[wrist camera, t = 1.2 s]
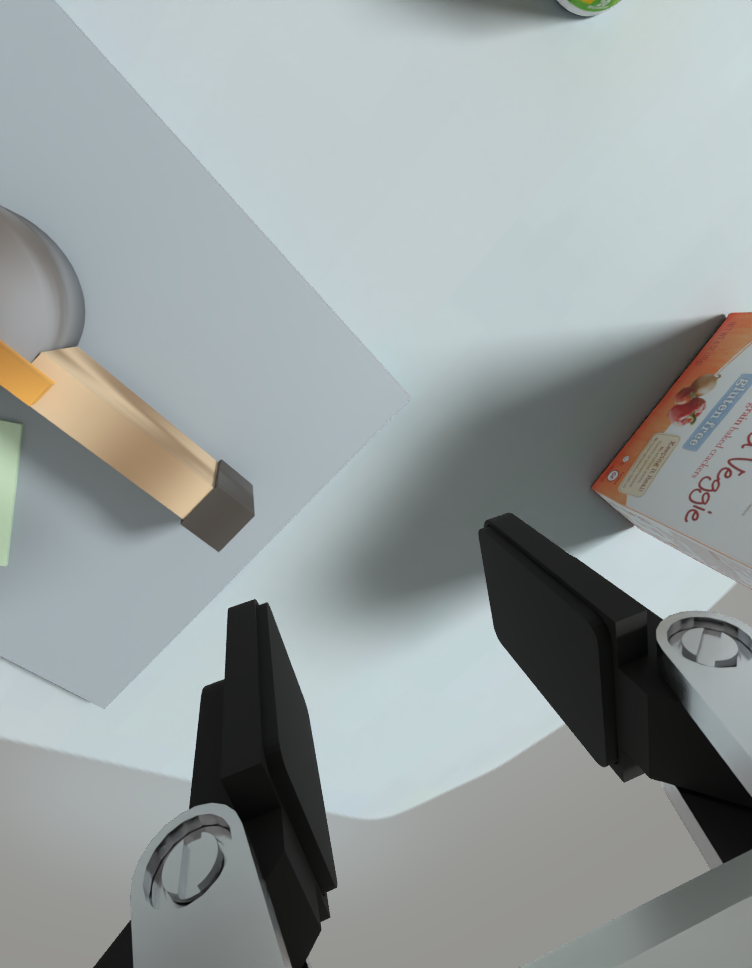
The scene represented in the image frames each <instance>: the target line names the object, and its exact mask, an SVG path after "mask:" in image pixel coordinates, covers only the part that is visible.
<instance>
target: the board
mask: <svg viewBox="0 0 752 968" xmlns="http://www.w3.org/2000/svg"><path fill="white" fill-rule="evenodd" d="M0 205H1V206H3V207H5V208H7V209H9V210H11V211H13V212H15V213H17V214H19V215H21V216H23V217H24V218H26V219H27V220H29V221H30V222H32V223H33V224H35V225H36V226H37V227H39V228H40V229H41V230H42V231H44V232H45V233H46V234H47V235H48V236H49V237H50V238H51V239H52V240H53V241H54V242H55V243H56V244H57V245H58V246H59V248H60V249H61V250H62V251H63V253H64V254H65V255H66V257H67V258H68V260H69V262H70V263H71V265H72V266H73V268H74V270H75V273H76V275H77V277H78V279H79V282H80V285H81V288H82V292H83V296H84V301H85V324H84V329H83V333H82V336H81V339H80V341H79V344H78V347H79V348H80V349H81V350H83V351H84V352H85V353H86V354H87V355H89V356H90V357H91V358H92V359H94V360H95V361H96V362H97V363H98V364H100V365H101V366H102V367H103V368H104V369H106V370H107V371H108V372H109V373H111V374H112V375H113V376H114V377H115V378H117V379H118V380H119V381H120V382H121V383H123V384H124V385H125V386H126V387H128V388H129V389H130V390H131V391H132V392H134V393H135V394H136V395H137V396H138V397H140V398H141V399H142V400H143V401H144V402H146V403H147V404H148V405H149V406H151V407H152V408H153V409H154V410H155V411H157V412H158V413H159V414H160V415H161V416H163V417H164V418H165V419H166V420H168V421H169V422H170V423H171V424H172V425H174V426H175V427H176V428H177V429H178V430H180V431H181V432H182V433H183V434H185V435H186V436H187V437H188V438H189V439H191V440H192V441H193V442H194V443H195V444H197V445H198V446H199V447H200V448H202V449H203V450H204V451H205V452H206V453H208V454H209V455H210V456H211V457H212V458H214V459H215V460H216V461H217V462H219V461H220V460H221V459H222V460H223V461H224V462H226V463H227V464H228V465H229V466H230V467H232V468H233V469H234V470H235V471H237V472H238V473H239V474H240V475H241V476H243V477H244V478H245V479H246V480H247V481H249V482H250V483H251V484H252V485H253V496H254V511H255V516H254V517H253V518H252V519H251V520H250V521H249V522H248V523H247V524H246V525H245V526H244V527H243V529H242V530H241V531H240V532H239V533H238V534H237V535H236V536H235V537H234V538H233V539H232V540H231V541H230V542H229V543H228V544H227V545H226V546H225V547H224V548H223V549H222V550H221V551H220V552H217V551H216V550H215V549H213V548H212V547H211V546H209V545H208V544H207V543H205V542H204V541H202V540H201V539H200V538H198V537H197V536H196V535H194V534H193V533H191V532H190V531H189V530H187V529H186V528H185V527H183V526H182V525H181V524H180V523H181V519H182V518H181V517H179V516H178V515H177V514H175V513H174V512H173V511H171V510H170V509H168V508H167V507H166V506H164V505H163V504H162V503H160V502H159V501H158V500H156V499H155V498H154V497H152V496H151V495H149V494H148V493H147V492H145V491H144V490H143V489H141V488H140V487H139V486H137V485H136V484H135V483H133V482H132V481H131V480H129V479H128V478H126V477H125V476H124V475H122V474H121V473H120V472H118V471H117V470H116V469H114V468H113V467H112V466H110V465H109V464H108V463H106V462H105V461H103V460H102V459H101V458H99V457H98V456H97V455H95V454H94V453H93V452H91V451H90V450H89V449H87V448H86V447H84V446H83V445H82V444H80V443H79V442H78V441H76V440H75V439H74V438H72V437H71V436H70V435H68V434H67V433H66V432H64V431H63V430H61V429H60V428H59V427H57V426H56V425H55V424H53V423H52V422H51V421H49V420H48V419H47V418H45V417H44V416H42V415H41V414H40V413H38V412H37V411H36V410H34V409H33V408H32V407H30V406H28V405H27V404H26V403H24V402H23V401H21V400H20V399H19V398H17V397H16V396H15V395H13V394H12V393H11V392H9V391H8V390H7V389H4V390H1V391H0V656H1V657H3V658H5V659H7V660H9V661H11V662H13V663H15V664H17V665H19V666H21V667H23V668H25V669H27V670H29V671H31V672H33V673H35V674H37V675H39V676H40V677H42V678H44V679H46V680H48V681H50V682H52V683H54V684H56V685H58V686H60V687H62V688H64V689H66V690H68V691H70V692H72V693H74V694H76V695H78V696H80V697H82V698H84V699H86V700H88V701H90V702H91V703H93V704H95V705H97V706H99V707H101V708H103V709H105V708H106V707H107V706H108V705H109V704H110V703H111V702H112V701H113V700H114V699H115V698H116V697H117V696H118V695H119V694H120V693H121V692H122V691H123V690H124V689H125V688H126V687H127V686H128V685H129V684H130V683H131V682H132V681H133V680H134V679H135V678H136V677H137V676H138V675H139V674H140V673H141V672H142V671H143V670H144V669H145V668H146V667H147V665H148V664H149V663H150V662H151V661H152V660H153V659H154V658H155V657H156V656H157V655H158V654H159V653H160V652H161V651H162V650H163V649H164V648H165V647H166V646H167V645H168V644H169V643H170V642H171V641H172V640H173V639H174V638H175V637H176V636H177V635H178V634H179V633H180V632H181V631H182V630H183V629H184V628H185V627H186V626H187V625H188V624H189V623H190V622H191V621H192V620H193V619H194V618H195V617H196V616H197V615H198V614H199V613H200V612H201V611H202V610H203V609H204V608H205V607H206V606H207V605H208V604H209V603H210V602H211V601H212V600H213V599H214V598H215V597H216V596H217V595H218V594H219V593H220V592H221V591H222V590H223V589H224V588H225V587H226V586H227V585H228V584H229V583H230V581H231V580H232V579H233V578H234V577H235V576H236V575H237V574H238V573H239V572H240V571H241V570H242V569H243V568H244V567H245V566H246V565H247V564H248V563H249V562H250V561H251V560H252V559H253V558H254V557H255V556H256V555H257V554H258V553H259V552H260V551H261V550H262V549H263V548H264V547H265V546H266V545H267V544H268V543H269V542H270V541H271V540H272V539H273V538H274V537H275V536H276V535H277V534H278V533H279V532H280V531H281V530H282V529H283V528H284V527H285V526H286V525H287V524H288V523H289V522H290V521H291V520H292V519H293V518H294V517H295V516H296V515H297V514H298V513H299V512H300V511H301V510H302V509H303V508H304V507H305V506H306V505H307V504H308V503H309V502H310V501H311V500H312V499H313V498H314V496H315V495H316V494H317V493H318V492H319V491H320V490H321V489H322V488H323V487H324V486H325V485H326V484H327V483H328V482H329V481H330V480H331V479H332V478H333V477H334V476H335V475H336V474H337V473H338V472H339V471H340V470H341V469H342V468H343V467H344V466H345V465H346V464H347V463H348V462H349V461H350V460H351V459H352V458H353V457H354V456H355V455H356V454H357V453H358V452H359V451H360V450H361V449H362V448H363V447H364V446H365V445H366V444H367V443H368V442H369V441H370V440H371V439H372V438H373V437H374V436H375V435H376V434H377V433H378V432H379V431H380V430H381V429H382V428H383V427H384V426H385V425H386V424H387V423H388V422H389V421H390V420H391V419H392V418H393V417H394V416H395V415H396V414H397V412H398V411H399V410H400V409H401V408H402V407H403V406H404V405H405V404H406V403H407V402H408V401H409V400H410V399H411V398H412V397H411V396H410V395H409V394H408V393H407V392H406V391H405V390H404V389H403V387H402V386H401V385H400V384H399V383H398V382H397V381H396V380H395V379H394V377H393V376H392V375H391V374H390V373H389V372H388V371H387V370H386V369H385V367H384V366H383V365H382V364H381V363H380V362H379V361H378V360H377V359H376V357H375V356H374V355H373V354H372V353H371V352H370V351H369V350H368V349H367V347H366V346H365V345H364V344H363V343H362V342H361V341H360V340H359V339H358V337H357V336H356V335H355V334H354V333H353V332H352V331H351V330H350V329H349V327H348V326H347V325H346V324H345V323H344V322H343V321H342V320H341V318H340V317H339V316H338V315H337V314H336V313H335V312H334V311H333V310H332V308H331V307H330V306H329V305H328V304H327V303H326V302H325V301H324V300H323V298H322V297H321V296H320V295H319V294H318V293H317V292H316V291H315V290H314V288H313V287H312V286H311V285H310V284H309V283H308V282H307V281H306V280H305V278H304V277H303V276H302V275H301V274H300V273H299V272H298V271H297V270H296V268H295V267H294V266H293V265H292V264H291V263H290V262H289V261H288V260H287V258H286V257H285V256H284V255H283V254H282V253H281V252H280V251H279V250H278V248H277V247H276V246H275V245H274V244H273V243H272V242H271V241H270V240H269V238H268V237H267V236H266V235H265V234H264V233H263V232H262V231H261V230H260V228H259V227H258V226H257V225H256V224H255V223H254V222H253V221H252V219H251V218H250V217H249V216H248V215H247V214H246V213H245V212H244V211H243V209H242V208H241V207H240V206H239V205H238V204H237V203H236V202H235V201H234V199H233V198H232V197H231V196H230V195H229V194H228V193H227V192H226V191H225V189H224V188H223V187H222V186H221V185H220V184H219V183H218V182H217V181H216V179H215V178H214V177H213V176H212V175H211V174H210V173H209V172H208V171H207V169H206V168H205V167H204V166H203V165H202V164H201V163H200V162H199V161H198V159H197V158H196V157H195V156H194V155H193V154H192V153H191V152H190V151H189V149H188V148H187V147H186V146H185V145H184V144H183V143H182V142H181V141H180V139H179V138H178V137H177V136H176V135H175V134H174V133H173V132H172V130H171V129H170V128H169V127H168V126H167V125H166V124H165V123H164V122H163V120H162V119H161V118H160V117H159V116H158V115H157V114H156V113H155V112H154V110H153V109H152V108H151V107H150V106H149V105H148V104H147V103H146V102H145V100H144V99H143V98H142V97H141V96H140V95H139V94H138V93H137V92H136V90H135V89H134V88H133V87H132V86H131V85H130V84H129V83H128V82H127V80H126V79H125V78H124V77H123V76H122V75H121V74H120V73H119V72H118V70H117V69H116V68H115V67H114V66H113V65H112V64H111V63H110V62H109V60H108V59H107V58H106V57H105V56H104V55H103V54H102V53H101V52H100V50H99V49H98V48H97V47H96V46H95V45H94V44H93V43H92V42H91V40H90V39H89V38H88V37H87V36H86V35H85V34H84V33H83V31H82V30H81V29H80V28H79V27H78V26H77V25H76V24H75V23H74V21H73V20H72V19H71V18H70V17H69V16H68V15H67V14H66V13H65V11H64V10H63V9H62V8H61V7H60V6H59V5H58V4H57V3H56V1H55V0H0Z"/></svg>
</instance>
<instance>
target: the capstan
mask: <svg viewBox="0 0 752 968" xmlns="http://www.w3.org/2000/svg"><path fill="white" fill-rule="evenodd" d="M84 324H85V301H84V296H83V292H82V288H81V285H80V282H79V279H78V277H77V275H76V273H75V270H74V268H73V266H72V265H71V263H70V262H69V260H68V258H67V257H66V255H65V254H64V253H63V251H62V250H61V249H60V248H59V246H58V245H57V244H56V243H55V242H54V241H53V240H52V239H51V238H50V237H49V236H48V235H47V234H46V233H45V232H44V231H42V230H41V229H40V228H39V227H37V226H36V225H35V224H33V223H32V222H30V221H29V220H27V219H26V218H24V217H23V216H21V215H19V214H17V213H15V212H13V211H11V210H9V209H7V208H5V207H3V206H1V205H0V391H1V390H4V389H7V390H8V391H9V392H11V393H12V394H13V395H15V396H16V397H17V398H19V399H20V400H21V401H23V402H24V403H26V404H27V405H28V406H30V407H32V408H33V409H34V410H36V411H37V412H38V413H40V414H41V415H42V416H44V417H45V418H47V419H48V420H49V421H51V422H52V423H53V424H55V425H56V426H57V427H59V428H60V429H61V430H63V431H64V432H66V433H67V434H68V435H70V436H71V437H72V438H74V439H75V440H76V441H78V442H79V443H80V444H82V445H83V446H84V447H86V448H87V449H89V450H90V451H91V452H93V453H94V454H95V455H97V456H98V457H99V458H101V459H102V460H103V461H105V462H106V463H108V464H109V465H110V466H112V467H113V468H114V469H116V470H117V471H118V472H120V473H121V474H122V475H124V476H125V477H126V478H128V479H129V480H131V481H132V482H133V483H135V484H136V485H137V486H139V487H140V488H141V489H143V490H144V491H145V492H147V493H148V494H149V495H151V496H152V497H154V498H155V499H156V500H158V501H159V502H160V503H162V504H163V505H164V506H166V507H167V508H168V509H170V510H171V511H173V512H174V513H175V514H177V515H178V516H179V517H181V518H182V519H181V523H180V524H181V525H182V526H183V527H185V528H186V529H187V530H189V531H190V532H191V533H193V534H194V535H196V536H197V537H198V538H200V539H201V540H202V541H204V542H205V543H207V544H208V545H209V546H211V547H212V548H213V549H215V550H216V551H217V552H220V551H221V550H222V549H223V548H224V547H225V546H226V545H227V544H228V543H229V542H230V541H231V540H232V539H233V538H234V537H235V536H236V535H237V534H238V533H239V532H240V531H241V530H242V529H243V527H244V526H245V525H246V524H247V523H248V522H249V521H250V520H251V519H252V518H253V517H254V516H255V511H254V496H253V485H252V484H251V483H250V482H249V481H247V480H246V479H245V478H244V477H243V476H241V475H240V474H239V473H238V472H237V471H235V470H234V469H233V468H232V467H230V466H229V465H228V464H227V463H226V462H224V461H223V460H222V459H221V460H220V461H219V462H217V461H216V460H215V459H214V458H212V457H211V456H210V455H209V454H208V453H206V452H205V451H204V450H203V449H202V448H200V447H199V446H198V445H197V444H195V443H194V442H193V441H192V440H191V439H189V438H188V437H187V436H186V435H185V434H183V433H182V432H181V431H180V430H178V429H177V428H176V427H175V426H174V425H172V424H171V423H170V422H169V421H168V420H166V419H165V418H164V417H163V416H161V415H160V414H159V413H158V412H157V411H155V410H154V409H153V408H152V407H151V406H149V405H148V404H147V403H146V402H144V401H143V400H142V399H141V398H140V397H138V396H137V395H136V394H135V393H134V392H132V391H131V390H130V389H129V388H128V387H126V386H125V385H124V384H123V383H121V382H120V381H119V380H118V379H117V378H115V377H114V376H113V375H112V374H111V373H109V372H108V371H107V370H106V369H104V368H103V367H102V366H101V365H100V364H98V363H97V362H96V361H95V360H94V359H92V358H91V357H90V356H89V355H87V354H86V353H85V352H84V351H83V350H81V349H80V348H79V347H78V344H79V341H80V339H81V336H82V333H83V329H84Z"/></svg>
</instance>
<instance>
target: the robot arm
mask: <svg viewBox="0 0 752 968" xmlns="http://www.w3.org/2000/svg"><path fill="white" fill-rule="evenodd" d="M478 534H479V541H480V547H481V553H482V559H483V565H484V571H485V577H486V583H487V589H488V595H489V601H490V607H491V613H492V619H493V625H494V629H495V632H496V635H497V637H498V639H499V641H500V642H501V644H502V645H503V646H504V648H505V649H506V650H507V651H508V653H509V654H510V655H511V656H512V658H513V659H514V660H515V661H516V663H517V664H518V665H519V666H520V667H521V669H522V670H523V671H524V672H525V674H526V675H527V676H528V677H529V679H530V680H531V681H532V682H533V684H534V685H535V686H536V687H537V689H538V690H539V691H540V692H541V694H542V695H543V696H544V697H545V699H546V700H547V701H548V702H549V704H550V705H551V706H552V707H553V709H554V710H555V711H556V712H557V714H558V715H559V716H560V717H561V719H562V720H563V721H564V722H565V724H566V725H567V726H568V727H569V729H570V730H571V731H572V732H573V733H574V735H575V736H576V737H577V738H578V740H579V741H580V742H581V743H582V745H583V746H584V747H585V748H586V750H587V751H588V752H589V753H590V755H591V756H592V757H593V758H594V760H595V761H596V762H597V763H598V764H599V765H600V766H602V767H606V766H608V765H610V766H611V768H612V769H613V770H614V771H615V773H616V774H617V775H618V776H619V777H620V778H621V780H622V781H623V782H626V781H629V780H631V779H633V778H635V777H637V776H640V775H642V774H644V773H645V774H646V775H647V776H648V777H649V778H651V779H654V780H658V781H660V782H661V785H662V787H663V789H664V791H665V793H666V795H667V797H668V798H669V800H670V802H671V803H672V805H673V807H674V808H675V810H676V812H677V813H678V815H679V817H680V819H681V820H682V822H683V823H684V825H685V827H686V829H687V830H688V832H689V834H690V835H691V837H692V839H693V841H694V842H695V844H696V846H697V847H698V849H699V851H700V852H701V854H702V856H703V858H704V859H705V861H706V863H707V864H708V866H709V868H710V869H711V870H710V871H708V872H706V873H704V874H702V875H700V876H698V877H696V878H694V879H692V880H690V881H688V882H686V883H684V884H683V885H681V886H679V887H677V888H675V889H673V890H671V891H669V892H667V893H665V894H663V895H661V896H659V897H657V898H655V899H653V900H651V901H649V902H647V903H645V904H643V905H641V906H639V907H637V908H635V909H633V910H631V911H629V912H627V913H625V914H624V915H622V916H620V917H618V918H616V919H614V920H612V921H610V922H608V923H606V924H604V925H602V926H600V927H598V928H596V929H594V930H592V931H590V932H588V933H586V934H584V935H582V936H581V937H578V938H576V939H574V940H573V941H571V942H569V943H567V944H565V945H563V946H561V947H559V948H557V949H555V950H553V951H551V952H549V953H547V954H545V955H543V956H541V957H539V958H537V959H535V960H533V961H532V962H529V963H528V964H526V965H524V966H522V967H520V968H752V628H751V627H750V626H748V625H746V624H745V623H743V622H741V621H739V620H737V619H734V618H732V617H730V616H726V615H722V614H718V613H714V612H706V611H686V612H680V613H676V614H673V615H670V616H668V617H667V618H665V619H664V620H663V619H661V618H660V617H658V616H657V615H656V614H654V613H653V612H651V611H650V610H649V609H647V608H646V607H644V606H643V605H642V604H640V603H639V602H637V601H636V600H635V599H633V598H632V597H630V596H629V595H628V594H626V593H625V592H623V591H622V590H621V589H619V588H618V587H616V586H615V585H613V584H612V583H611V582H609V581H608V580H606V579H605V578H604V577H602V576H601V575H599V574H598V573H597V572H595V571H594V570H592V569H591V568H590V567H588V566H587V565H585V564H584V563H583V562H581V561H580V560H578V559H577V558H575V557H573V556H571V555H569V554H568V553H567V552H565V551H564V550H562V549H561V548H560V547H558V546H557V545H555V544H554V543H553V542H551V541H550V540H548V539H547V538H546V537H544V536H543V535H541V534H540V533H539V532H537V531H536V530H534V529H533V528H532V527H530V526H529V525H527V524H526V523H525V522H523V521H522V520H520V519H519V518H518V517H516V516H515V515H513V514H512V513H506V514H503V515H501V516H498V517H495V518H492V519H489V520H486V521H485V523H484V528H483V529H480V530H479V533H478ZM335 888H337V878H336V872H335V866H334V860H333V854H332V848H331V842H330V836H329V831H328V825H327V819H326V813H325V807H324V801H323V795H322V790H321V784H320V778H319V772H318V766H317V760H316V754H315V748H314V743H313V737H312V731H311V725H310V719H309V714H308V710H307V706H306V703H305V700H304V697H303V694H302V692H301V689H300V686H299V684H298V681H297V678H296V676H295V673H294V670H293V668H292V665H291V662H290V660H289V657H288V654H287V651H286V649H285V646H284V643H283V641H282V638H281V635H280V633H279V630H278V627H277V625H276V622H275V619H274V617H273V614H272V611H271V609H270V606H269V604H268V603H264V604H261V605H259V604H258V602H257V600H256V599H254V600H251V601H248V602H245V603H242V604H239V605H236V606H233V607H230V608H228V618H227V640H226V661H225V679H223V680H221V681H218V682H215V683H212V684H210V685H207V686H205V687H204V688H203V690H202V694H201V703H200V712H199V721H198V731H197V740H196V750H195V759H194V768H193V778H192V787H191V797H190V806H189V810H187V811H185V812H183V813H181V814H180V815H178V816H177V817H176V818H174V819H173V820H172V821H170V822H169V823H168V824H166V825H165V826H164V827H163V828H162V829H161V831H160V832H159V833H158V834H157V835H156V836H155V837H154V838H153V839H152V840H151V842H150V843H149V845H148V846H147V848H146V850H145V851H144V853H143V854H142V856H141V858H140V859H139V862H138V864H137V867H136V869H135V872H134V875H133V877H132V883H131V892H130V906H131V920H130V922H129V923H128V924H127V925H126V927H125V928H124V929H123V930H122V932H121V933H120V934H119V936H118V937H117V938H116V939H115V941H114V942H113V943H112V944H111V946H110V947H109V948H108V950H107V951H106V952H105V953H104V955H103V956H102V957H101V958H100V960H99V961H98V962H97V964H96V965H95V966H94V967H93V968H312V966H311V963H310V960H309V957H308V955H309V953H310V951H311V949H312V947H313V945H314V943H315V941H316V939H317V937H318V936H319V933H320V932H321V923H320V922H322V921H324V920H326V919H328V918H330V912H329V905H328V899H327V892H328V891H330V890H333V889H335Z"/></svg>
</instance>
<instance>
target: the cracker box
mask: <svg viewBox="0 0 752 968" xmlns="http://www.w3.org/2000/svg"><path fill="white" fill-rule="evenodd" d="M592 489H593V490H594V491H595V492H596V493H597V494H599V495H600V496H601V497H602V498H603V499H604V500H606V501H607V502H608V503H609V504H610V505H611V506H613V507H614V508H615V509H616V510H617V511H619V512H620V513H621V514H622V515H623V516H625V517H626V518H627V519H628V520H629V521H630V522H632V523H633V524H634V525H635V526H636V527H637V528H639V529H640V530H642V531H644V532H646V533H648V534H649V535H651V536H653V537H655V538H657V539H658V540H660V541H662V542H664V543H666V544H668V545H670V546H672V547H673V548H675V549H677V550H679V551H681V552H683V553H684V554H686V555H688V556H690V557H692V558H693V559H695V560H697V561H699V562H701V563H703V564H705V565H706V566H708V567H710V568H712V569H714V570H716V571H718V572H720V573H721V574H723V575H725V576H727V577H729V578H731V579H733V580H735V581H736V582H738V583H740V584H742V585H744V586H746V587H748V588H749V589H752V312H748V313H730V314H729V315H728V317H727V318H726V320H725V321H724V322H723V323H722V325H721V326H720V327H719V328H718V330H717V331H716V332H715V334H714V335H713V336H712V337H711V338H710V340H709V341H708V342H707V344H706V345H705V346H704V347H703V349H702V350H701V351H700V352H699V354H698V355H697V356H696V357H695V359H694V360H693V361H692V362H691V364H690V365H689V366H688V367H687V369H686V370H685V371H684V372H683V373H682V375H681V376H680V377H679V379H678V380H677V381H676V382H675V383H674V385H673V386H672V387H671V388H670V390H669V391H668V392H667V393H666V395H665V396H664V397H663V398H662V399H661V401H660V402H659V403H658V405H657V406H656V407H655V408H654V410H653V411H652V412H651V413H650V414H649V416H648V417H647V418H646V420H645V421H644V422H643V423H642V425H641V426H640V427H639V428H638V430H637V431H636V432H635V433H634V434H633V436H632V437H631V438H630V439H629V441H628V442H627V443H626V445H625V446H624V447H623V448H622V450H621V451H620V452H619V453H618V454H617V456H616V457H615V458H614V459H613V461H612V462H611V463H610V464H609V466H608V467H607V468H606V469H605V471H604V472H603V473H602V474H601V475H600V477H599V478H598V479H597V481H596V482H595V483H594V484H593V486H592Z"/></svg>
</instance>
